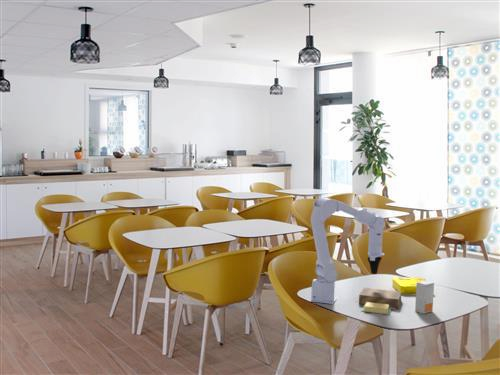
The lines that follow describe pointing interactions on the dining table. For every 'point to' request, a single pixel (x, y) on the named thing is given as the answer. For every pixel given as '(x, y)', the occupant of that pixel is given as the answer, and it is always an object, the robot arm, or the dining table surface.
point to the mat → (380, 313)
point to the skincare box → (424, 297)
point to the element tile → (406, 285)
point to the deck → (380, 297)
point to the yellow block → (376, 307)
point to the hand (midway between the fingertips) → (374, 273)
